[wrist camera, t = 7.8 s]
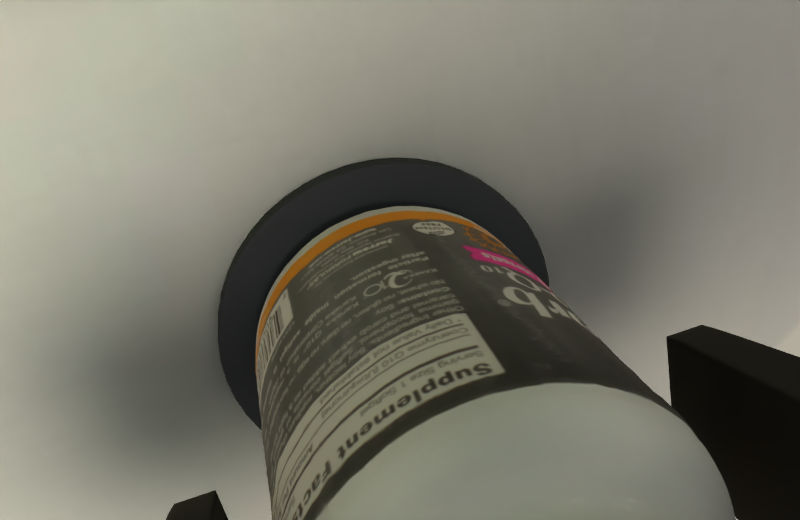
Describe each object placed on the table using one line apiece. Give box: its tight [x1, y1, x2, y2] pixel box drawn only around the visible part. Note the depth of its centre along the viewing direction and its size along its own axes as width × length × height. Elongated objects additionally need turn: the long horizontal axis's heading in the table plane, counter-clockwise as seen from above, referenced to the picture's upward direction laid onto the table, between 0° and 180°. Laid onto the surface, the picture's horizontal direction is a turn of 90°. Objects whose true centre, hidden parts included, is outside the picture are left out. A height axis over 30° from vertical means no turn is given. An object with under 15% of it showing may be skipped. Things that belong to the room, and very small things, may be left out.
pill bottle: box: [256, 206, 736, 520], centre depth 11 cm, size 6×6×10 cm
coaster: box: [218, 158, 549, 430], centre depth 15 cm, size 7×7×1 cm
